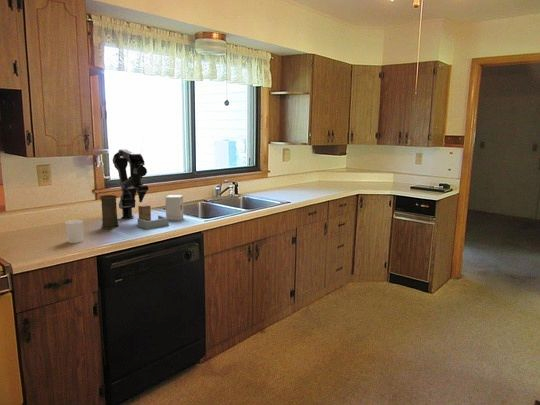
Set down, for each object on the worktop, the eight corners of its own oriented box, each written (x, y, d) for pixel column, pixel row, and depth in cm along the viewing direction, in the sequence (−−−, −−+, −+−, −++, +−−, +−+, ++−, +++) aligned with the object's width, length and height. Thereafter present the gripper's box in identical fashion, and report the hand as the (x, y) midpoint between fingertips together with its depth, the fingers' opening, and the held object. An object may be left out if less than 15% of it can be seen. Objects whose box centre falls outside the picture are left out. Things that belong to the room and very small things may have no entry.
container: (104, 230, 221) (102, 198, 218) (99, 227, 228) (97, 195, 225) (121, 228, 227) (119, 196, 224) (115, 225, 234) (114, 194, 231)
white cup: (64, 241, 200) (62, 221, 198) (81, 238, 206) (79, 219, 204) (70, 244, 195) (68, 224, 193) (87, 241, 200) (85, 221, 198)
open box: (137, 227, 229) (137, 218, 229) (159, 223, 239) (159, 215, 238) (146, 230, 222) (146, 221, 221) (168, 226, 232) (168, 218, 231)
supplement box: (180, 221, 244) (179, 197, 242) (165, 221, 244) (164, 197, 242) (183, 218, 253) (183, 194, 251) (169, 218, 253) (168, 194, 251)
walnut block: (139, 224, 237) (138, 205, 235) (147, 222, 241) (146, 204, 239) (143, 225, 234) (142, 206, 232) (151, 224, 237) (150, 205, 235)
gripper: (115, 174, 236) (116, 200, 239) (129, 177, 223) (131, 205, 226) (133, 173, 244) (134, 198, 246) (148, 175, 231) (149, 202, 233)
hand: (136, 201), depth 238 cm, fingers open, 9 cm apart
